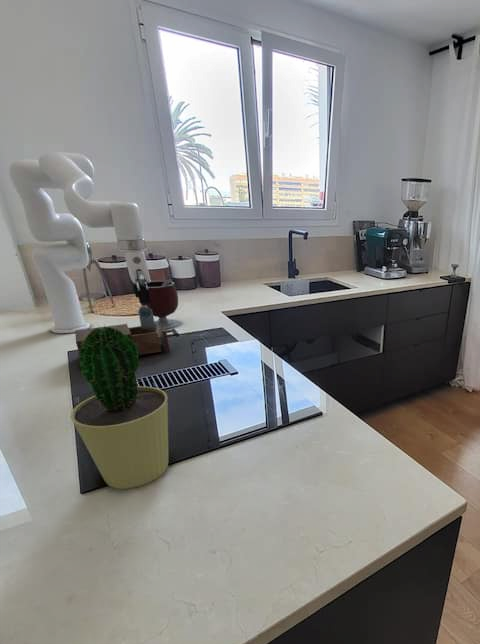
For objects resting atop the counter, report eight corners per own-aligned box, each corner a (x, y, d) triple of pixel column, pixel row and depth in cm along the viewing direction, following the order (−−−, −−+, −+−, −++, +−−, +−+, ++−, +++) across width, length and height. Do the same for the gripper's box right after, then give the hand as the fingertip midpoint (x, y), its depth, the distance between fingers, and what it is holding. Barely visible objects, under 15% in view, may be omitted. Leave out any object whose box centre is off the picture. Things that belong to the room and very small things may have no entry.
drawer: (176, 339, 144) (172, 320, 141) (183, 349, 136) (179, 329, 133) (121, 348, 135) (116, 328, 132) (124, 359, 126) (119, 337, 123)
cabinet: (132, 348, 137) (126, 323, 134) (137, 360, 128) (131, 333, 124) (82, 356, 130) (75, 330, 126) (83, 369, 120) (75, 341, 117)
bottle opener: (141, 345, 135) (133, 305, 130) (159, 342, 138) (152, 303, 133) (144, 349, 131) (135, 308, 126) (162, 346, 134) (154, 306, 129)
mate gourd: (137, 327, 159) (126, 277, 151) (164, 318, 171) (156, 272, 163) (166, 332, 154) (157, 281, 146) (192, 323, 165) (185, 275, 157)
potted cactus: (120, 509, 68) (73, 347, 56) (75, 476, 75) (26, 327, 63) (195, 463, 80) (171, 322, 68) (151, 439, 87) (122, 308, 75)
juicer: (115, 306, 186) (100, 240, 174) (91, 312, 176) (74, 243, 164) (101, 304, 189) (85, 239, 177) (78, 309, 180) (59, 241, 168)
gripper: (149, 247, 117) (160, 304, 124) (141, 242, 130) (151, 293, 137) (121, 249, 113) (133, 307, 120) (115, 243, 126) (127, 295, 133)
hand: (143, 299), depth 128 cm, fingers open, 9 cm apart
